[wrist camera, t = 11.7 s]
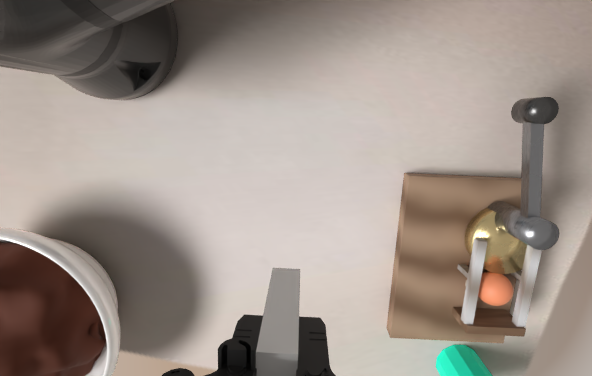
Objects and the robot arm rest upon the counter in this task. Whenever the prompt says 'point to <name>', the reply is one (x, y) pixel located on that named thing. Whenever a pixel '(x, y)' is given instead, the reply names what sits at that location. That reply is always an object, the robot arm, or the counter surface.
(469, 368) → the candle
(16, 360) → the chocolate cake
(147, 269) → the counter surface
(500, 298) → the ball
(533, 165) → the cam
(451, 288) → the stand
